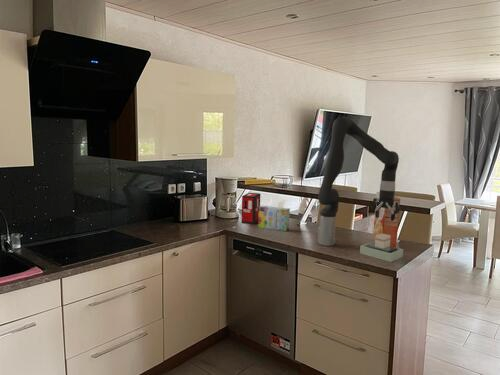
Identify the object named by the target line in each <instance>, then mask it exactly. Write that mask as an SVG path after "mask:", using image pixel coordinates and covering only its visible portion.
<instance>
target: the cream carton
mask: <svg viewBox="0 0 500 375" xmlns="http://www.w3.org/2000/svg"><path fill="white" fill-rule="evenodd" d="M390 240H391V235H387V234H379V235H376V237H375V240H374V242H375V247H379V248H383V249H384V248H386V247H389V246H390Z"/></svg>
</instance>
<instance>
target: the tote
mask: <svg viewBox="0 0 500 375" xmlns="http://www.w3.org/2000/svg"><path fill="white" fill-rule="evenodd" d="M373 243H375V241H371V242H368V243H366V244H365V243H364V244H362V245H359V246H360V247H359V254H361V255H365V256H368V257H371V258H376V259H379V260H383V261H384V262H385V261H386V262H389V263H392V262H395V261H396V260H398V259H399V260H400V259H401V258H403V257H404V249H403V248H400V247H397V251H395V252H392V253H388V252H384V251H380V250H377V249H373V248H369V247H368V245H370V244H373Z"/></svg>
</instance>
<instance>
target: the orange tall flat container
mask: <svg viewBox="0 0 500 375" xmlns="http://www.w3.org/2000/svg"><path fill="white" fill-rule="evenodd" d="M375 194H376V195H375V198H378V199H379V194H380V191H376V193H375ZM394 202H400V203H401V198H400V197H398V196H396V194H395V195H394ZM393 207H394V209H395V204H393ZM379 211H380V212H379V218H376V216H375V215H374V221H373V232H372V235H373V236H372V239H373V240H374V241H375V237H376V235H379V234H387V235H391V240H390V246H394V247H397V242H398V231H399V230H398V229H399V215H400V212H399V213H397V214H395V220H394V221H391V214H392V213H391V211H390V210H389V208H388V209H387V208H381V209H380V210H379Z"/></svg>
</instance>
